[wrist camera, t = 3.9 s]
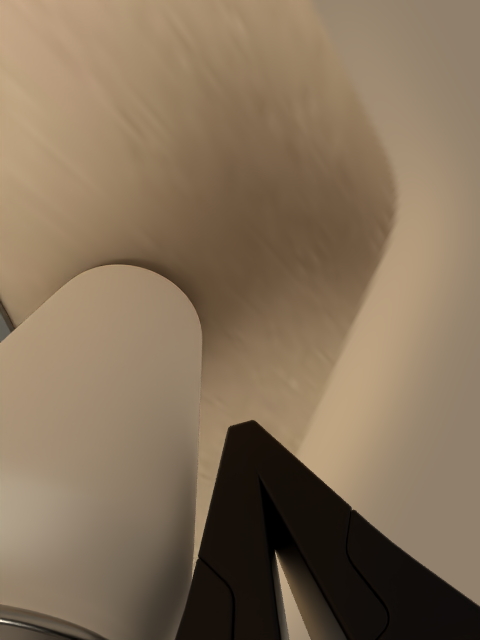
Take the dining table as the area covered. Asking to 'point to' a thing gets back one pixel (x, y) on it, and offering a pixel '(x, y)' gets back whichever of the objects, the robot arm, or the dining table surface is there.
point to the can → (100, 460)
